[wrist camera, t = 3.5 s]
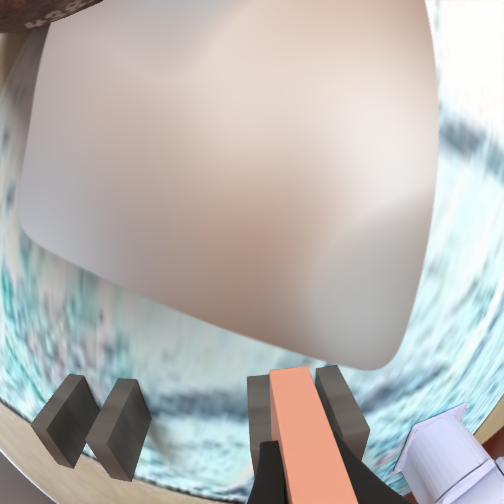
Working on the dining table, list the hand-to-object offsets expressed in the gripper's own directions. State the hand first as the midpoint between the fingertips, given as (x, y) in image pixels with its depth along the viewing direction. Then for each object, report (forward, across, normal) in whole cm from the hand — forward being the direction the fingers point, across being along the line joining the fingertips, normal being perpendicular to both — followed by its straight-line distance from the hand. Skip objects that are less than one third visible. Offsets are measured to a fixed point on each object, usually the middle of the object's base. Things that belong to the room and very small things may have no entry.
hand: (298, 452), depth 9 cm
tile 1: (+10, -4, +6) cm, 12 cm away
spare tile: (+3, 0, 0) cm, 3 cm away
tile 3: (+10, +11, +6) cm, 16 cm away
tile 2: (+10, +1, +6) cm, 12 cm away
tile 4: (+10, +16, +6) cm, 20 cm away
